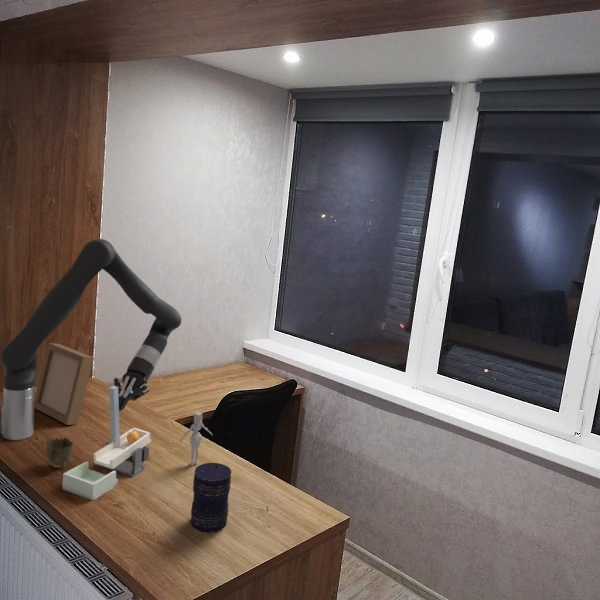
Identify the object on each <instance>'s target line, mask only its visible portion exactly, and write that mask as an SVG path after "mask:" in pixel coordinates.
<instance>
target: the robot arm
mask: <svg viewBox="0 0 600 600" xmlns="http://www.w3.org/2000/svg"><path fill="white" fill-rule="evenodd" d="M101 271H104V272H106V273H107V274H108V275H110V276H111V277H112V279H114V281H116V283H117V284H118V285H119V286H120V288H121V289H122V290H123V292H124V293H125V295H126V296H127V297H128V298H129V299H130V301H131V302H133V303H134V304H135V306H137V307H138V309H139V310H141V312H143V313H145V314H146V315H152V316H153V317H154V318H155V319H154V321H153V323H152V324H151V326H150V329H149V332H148V335H147V336H146V337H145V338H144V340H143V342H142V344H141V346H140V347H139V348H138V350H137V351H136V353H135V355H134V356H133V358H132V359H131V361H130V363H129V365H128V366H127V369H126V371H125V373H123V375H122V377H120V378H118V377H114V378H113V382H114V383H113V386H117V387H118V400H119V412H122V411H123V410H124V409H125V407H126V405H127V404H128V402H130V401H133V402H134V401H136V400H138V399H139V398H141V397H143V396H144V395H146V394H147V393H149V392H150V389H149V387H148V386H147V383H148V380H149V379H150V378H151V375H152V374H153V372H154V371H155V368H156V366H157V365H158V363H159V361H160V358H161V356H162V354H163V353H164V351H165V349H166V347H167V344H168V338H169V336H170V335H171V333H172V332H173V331H175V330H176V329H178V328H179V327H180V326H181V324H182V317H181V315H180V313H179V311H178V310H177V309H176V308H175V307H173V306H172V305H171V304H169V303H167V302H166V301H165V300H163V299H162V298H160V297H159V296H158V295H157V294H156V293H155V292H154V291H153V290H152V289H151V288H150V287H149V286H148V285H147V284H146V283H145V282H144V281H142V279H141V278H140V277H139V276H138V275H137V274H136V273H134V271H133V270H132V269H131V268H130V267H129V266H128V265H127V264H126V262H125V261H124V259H122V257H121V256H120V254H119V253H118V252H117V250H116V248H115V247H114V246H113V245H112V243H111V242H110V241H108V240H106V239H103V238H97V239H92V240H90V241H88V242H87V243H85V244H84V246H83V248H82V249H81V251H80V253H79V254H78V256H77V257H76V259H75V260H74V263H72V266H71V267H70V268H69V270H67V272H66V273H65V274H64V275H63V276H62V277H61V278H60V279H59V280H58V281H57V282H56V283H54V286H53V287H52V288H51V289H50V290H49V291H48V293H47V294H46V295H45V296H44V298H42V300H41V302H40V303H39V305H38V306H37V307H36V309H35V310H34V311H33V313H32V314H31V316H30V318H29V319H28V321H27V323H26V324H25V325H24V326H23V328H22V330H21V331H19V333H18V334H17V335H16V336H15V337H14V338H13V339H12V340H11V341H9V342H8V343H7V344H6V345H5V346H4V348H2V352H1V355H0V356H1V357H0V359H1V362H2V365H3V366H4V367H5V368H6V370H5V375H4V378H3V398H2V399H3V402H2V403H3V406H2V407H1V408H0V435H2V437H3V438H4V439H6V440H10V441H20V440H25V439H28V438H30V437H32V436H33V435H34V425H35V422H34V420H35V408H34V400H35V385H36V384H35V382H36V381H35V380H36V377H37V376H36V375H37V369H38V367H37V365H38V350H39V348H40V347H41V346H42V344H43V343H44V341H45V340H46V339H47V338H48V337H49V336H50V335H51V334H52V333H53V332H54V331H56V330H57V328H59V326H60V325H61V324H62V323H63V322H64V321H65V320H66V319H67V318H68V316H69V315H70V314H71V313H72V312H73V310H74V309H75V307H77V305H78V303H79V301H80V300H81V298H82V296H83V294H84V292H85V291H86V288H87V287H88V285H89V284H90V283H91V282H92V280H93V279H94V278H95V277H96V276H97V275H98V274H99V273H100V272H101Z"/></svg>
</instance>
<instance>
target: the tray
mask: <svg viewBox="0 0 600 600" xmlns="http://www.w3.org/2000/svg"><path fill="white" fill-rule="evenodd" d="M89 465H90V463H89V461H87V460H86V461H85V462H83V463H81V464H79V465H76V466H75V467H73V468H71V469H69V470H67V471H66V472H64V473H62V490H64V491H66V492H69V493H72V494H74V495H77V496H79V497H82V498H85V499H87V500H90V501H92V502H93V501H95V500H96V499H98V498H99V497H101V496H103V495H105V494H106V493H107V492H109V491H111V490H112V489H114V488H115V487H117V486H118V483H119V482H118V478H117V472H116V471H112V470H111V472H109V473H107V474H104V473H102V472H98V471H96V470H93V469H89Z"/></svg>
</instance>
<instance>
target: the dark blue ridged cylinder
mask: <svg viewBox="0 0 600 600" xmlns="http://www.w3.org/2000/svg"><path fill="white" fill-rule="evenodd" d="M231 479H232V470H231V468H230V467H229V466H227V465H225V464H222V463H218V462H206V463H202V464H198V466H196V467H195V469H194V475H193V487H192V492H193V498H192V499H193V500H192V504H191V510H190V517H191V518H190V525H192V526H191V527H192V528H193V530H195V529H196V530H195V531H197V532H199V531H200V533H202V532H206V533H205V534H213V533H212V532H215V533H218V532H217V531H219V532H221V531H223V530H224V529H225V528H226V527H227V525H226V524H228V516H229V515H228V514H229V494H230V490H231V486H232V485H231V484H232V483H231V481H232V480H231ZM225 526H226V527H225ZM224 527H225V528H224ZM223 528H224V529H223ZM222 529H223V530H222ZM220 530H221V531H220Z"/></svg>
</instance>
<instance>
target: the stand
mask: <svg viewBox="0 0 600 600" xmlns="http://www.w3.org/2000/svg"><path fill="white" fill-rule="evenodd" d="M109 443H111V439H110V440H107V441H106V442H105V446H106V445H108V444H109ZM130 457H131V458H132V462H130V461H128V460H125V461H123V462H122V463H121V464H119V465H118V466H116V467H115V468H114V469H111V468H108V467H105V466H102V465H100V467H101V468H104V469H106V470H108V471H109V470H110V471H111V472H112V471H116V473H118V474H121V475H124V476H127V477H130V478H134V477H135V476H137V475H138V474H140V473H141V472H143V471H144V470H146V469H145V468H146V467H145V466H142V462H145V461H147V460H149V457H150V447H147V446H146V445H145V446H144V447H143V448H140V447H139V448H138V449H136V450H134V451H133V455H132V456H130Z"/></svg>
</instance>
